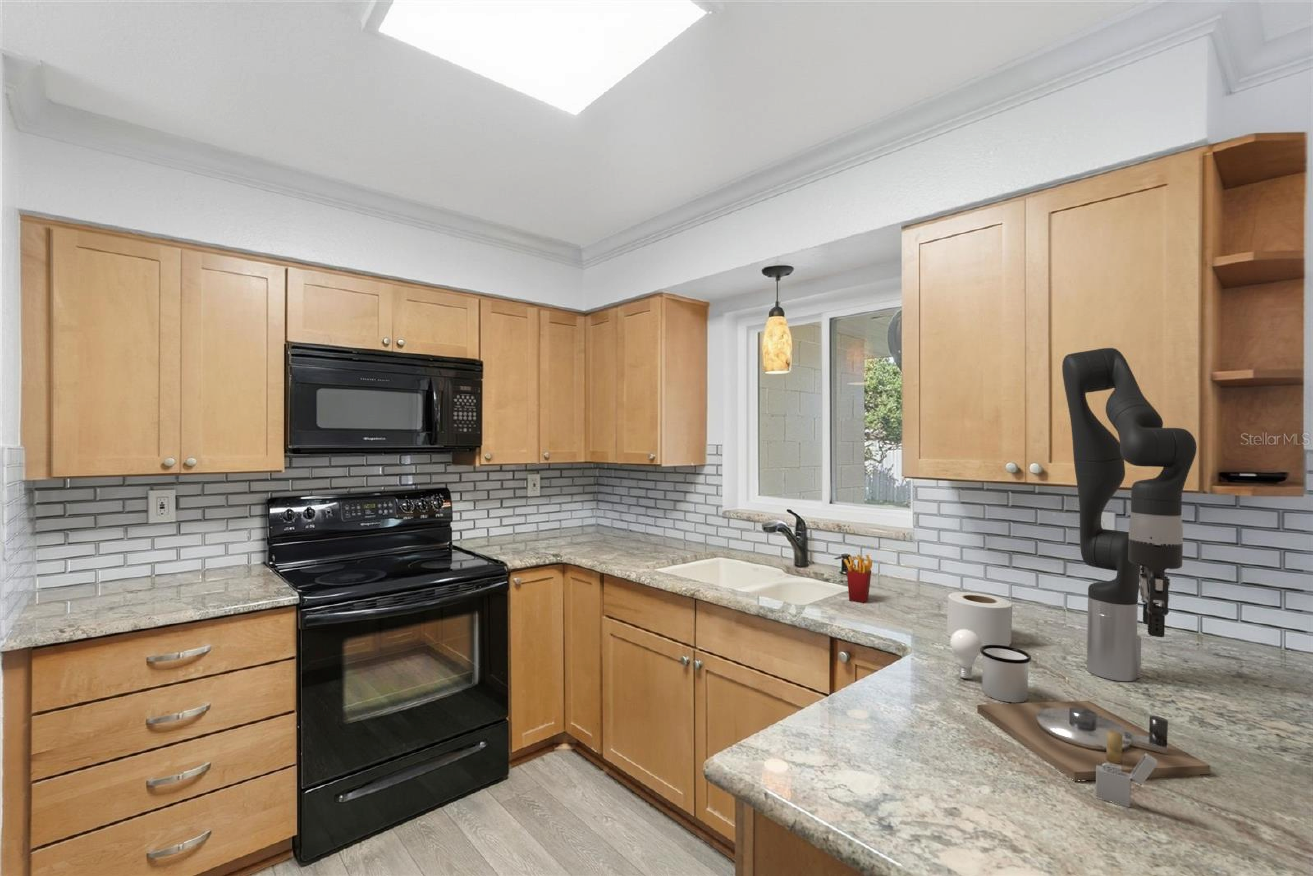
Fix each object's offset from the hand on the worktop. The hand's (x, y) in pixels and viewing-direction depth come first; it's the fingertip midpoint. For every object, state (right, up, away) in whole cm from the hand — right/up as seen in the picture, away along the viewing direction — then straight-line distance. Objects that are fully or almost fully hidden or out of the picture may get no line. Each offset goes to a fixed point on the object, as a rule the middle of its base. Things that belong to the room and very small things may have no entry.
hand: (1153, 630), depth 109 cm
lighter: (-20, -20, -19) cm, 34 cm away
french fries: (-22, -19, +93) cm, 98 cm away
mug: (-15, -20, +20) cm, 32 cm away
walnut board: (-13, -20, 0) cm, 24 cm away
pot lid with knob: (-11, -18, -1) cm, 21 cm away
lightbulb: (-20, -20, +27) cm, 39 cm away
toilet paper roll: (-2, -20, +56) cm, 59 cm away
